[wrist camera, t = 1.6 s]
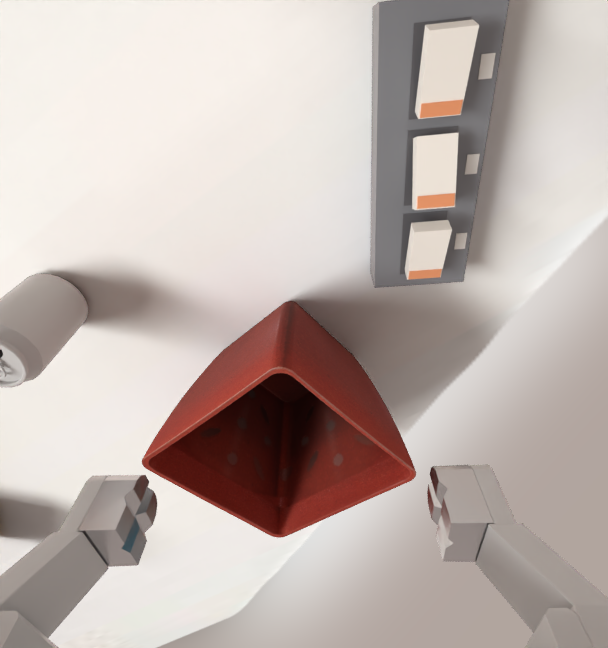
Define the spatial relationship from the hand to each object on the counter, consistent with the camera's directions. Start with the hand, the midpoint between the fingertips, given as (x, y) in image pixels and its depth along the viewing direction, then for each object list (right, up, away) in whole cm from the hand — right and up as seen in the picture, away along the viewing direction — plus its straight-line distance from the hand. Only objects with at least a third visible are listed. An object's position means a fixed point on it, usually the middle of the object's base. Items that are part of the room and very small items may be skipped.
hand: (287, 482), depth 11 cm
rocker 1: (+11, +23, +17) cm, 30 cm away
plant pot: (-2, 0, +39) cm, 40 cm away
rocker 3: (+12, +11, +25) cm, 30 cm away
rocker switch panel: (+11, +22, +24) cm, 34 cm away
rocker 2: (+11, +17, +21) cm, 29 cm away
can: (-28, +8, +35) cm, 46 cm away
